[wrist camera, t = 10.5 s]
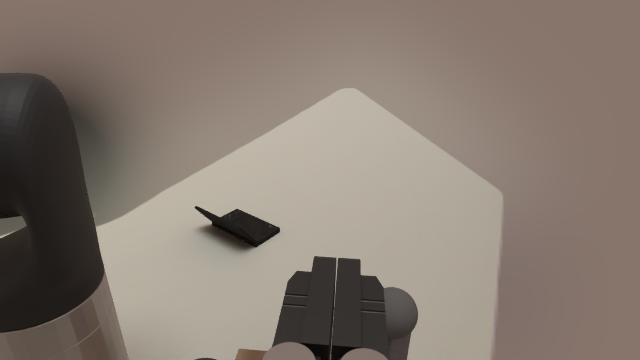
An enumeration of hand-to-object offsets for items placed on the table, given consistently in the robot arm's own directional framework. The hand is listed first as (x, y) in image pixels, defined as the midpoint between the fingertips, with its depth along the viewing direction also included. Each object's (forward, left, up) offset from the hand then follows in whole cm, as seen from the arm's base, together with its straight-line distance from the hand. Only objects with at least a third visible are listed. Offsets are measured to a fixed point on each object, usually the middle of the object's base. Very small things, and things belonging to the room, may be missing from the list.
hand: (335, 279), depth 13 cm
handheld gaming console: (-18, +47, -30) cm, 59 cm away
